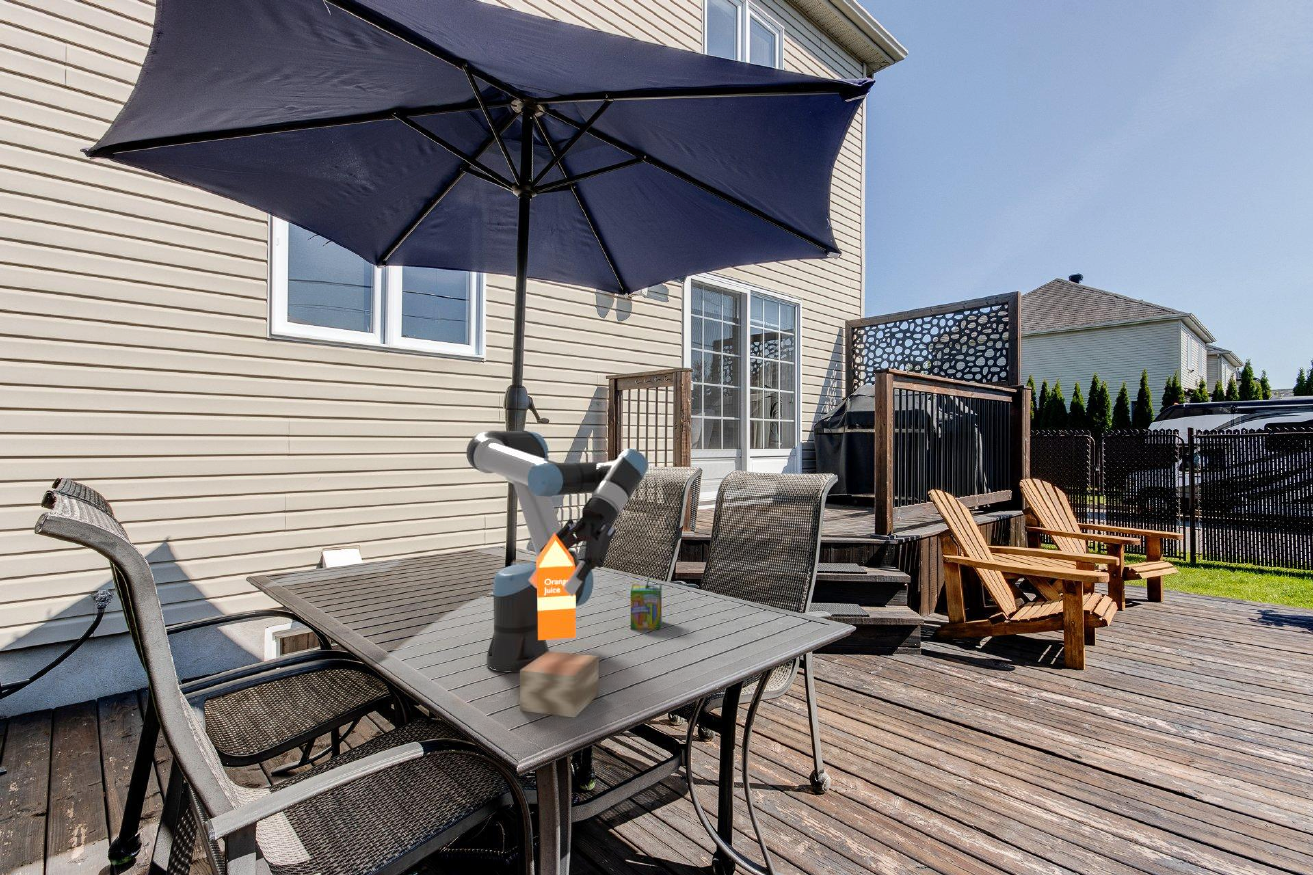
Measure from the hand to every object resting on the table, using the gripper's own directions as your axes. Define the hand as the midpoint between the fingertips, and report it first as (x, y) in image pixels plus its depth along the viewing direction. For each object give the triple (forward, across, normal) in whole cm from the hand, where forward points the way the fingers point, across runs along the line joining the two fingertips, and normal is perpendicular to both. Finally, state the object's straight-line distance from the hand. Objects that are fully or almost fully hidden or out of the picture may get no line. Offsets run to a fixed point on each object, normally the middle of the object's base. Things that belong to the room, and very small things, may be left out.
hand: (549, 588), depth 122 cm
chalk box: (-21, +24, -56) cm, 64 cm away
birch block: (+15, 0, -19) cm, 24 cm away
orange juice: (+5, +1, -8) cm, 10 cm away
